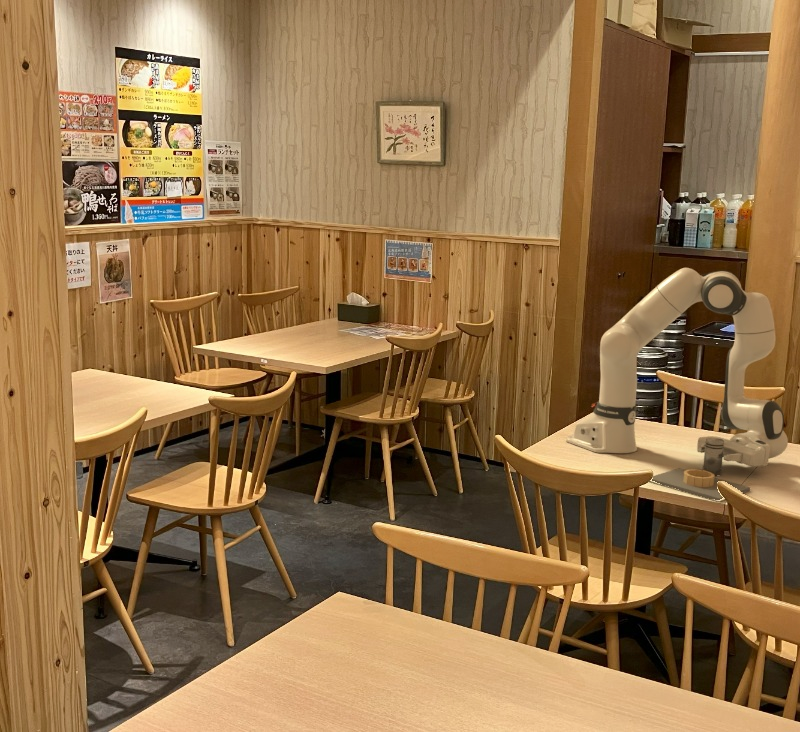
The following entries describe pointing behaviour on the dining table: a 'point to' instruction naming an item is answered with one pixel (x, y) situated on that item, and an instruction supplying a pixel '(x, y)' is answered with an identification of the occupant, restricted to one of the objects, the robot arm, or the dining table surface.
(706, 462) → the piston
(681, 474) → the collar plate
